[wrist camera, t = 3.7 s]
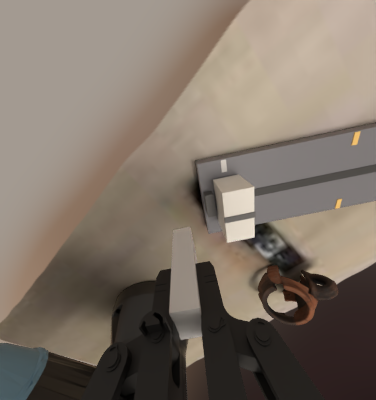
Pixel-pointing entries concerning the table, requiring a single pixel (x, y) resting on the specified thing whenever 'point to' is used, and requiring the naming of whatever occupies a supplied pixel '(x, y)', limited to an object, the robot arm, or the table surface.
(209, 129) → the table surface
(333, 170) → the grey slotted slider track
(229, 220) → the fader
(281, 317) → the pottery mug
